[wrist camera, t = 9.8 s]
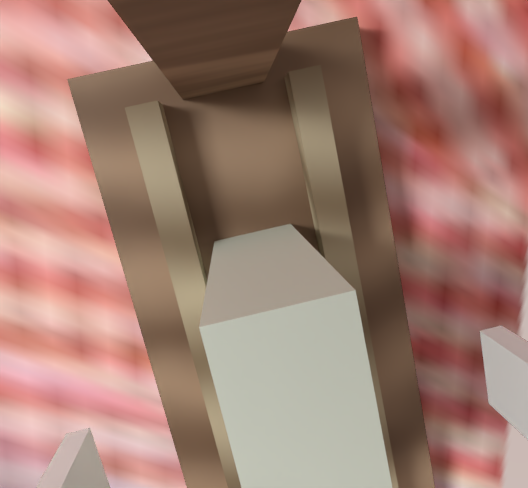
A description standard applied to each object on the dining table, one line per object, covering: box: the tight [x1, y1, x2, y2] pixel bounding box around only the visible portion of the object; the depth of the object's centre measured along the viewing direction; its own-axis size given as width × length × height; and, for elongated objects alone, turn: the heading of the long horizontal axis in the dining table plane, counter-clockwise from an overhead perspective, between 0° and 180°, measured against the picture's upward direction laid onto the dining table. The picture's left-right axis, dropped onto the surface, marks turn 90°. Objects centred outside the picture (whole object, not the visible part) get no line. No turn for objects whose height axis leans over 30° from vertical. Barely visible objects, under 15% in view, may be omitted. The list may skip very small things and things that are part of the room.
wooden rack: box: [67, 0, 435, 488], centre depth 18 cm, size 28×14×16 cm, turn 12°
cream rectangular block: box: [199, 224, 392, 488], centre depth 18 cm, size 10×4×12 cm, turn 12°
